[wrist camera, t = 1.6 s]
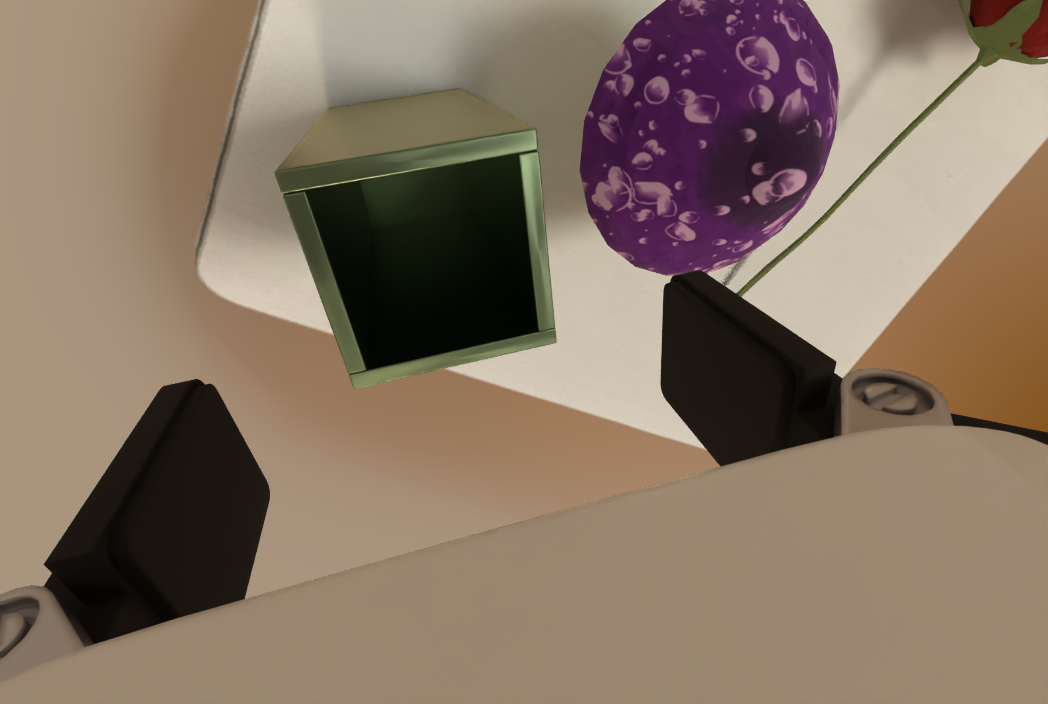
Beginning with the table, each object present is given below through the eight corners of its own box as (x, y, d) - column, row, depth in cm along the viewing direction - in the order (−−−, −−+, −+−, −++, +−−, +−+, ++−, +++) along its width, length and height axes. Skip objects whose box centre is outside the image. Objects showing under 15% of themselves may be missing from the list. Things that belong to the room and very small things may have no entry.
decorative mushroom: (603, -61, 25) (819, -166, 13) (764, 75, 31) (1027, 94, 18) (491, 171, 30) (571, 260, 17) (649, 254, 35) (797, 369, 23)
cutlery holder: (327, 108, 26) (273, 171, 13) (460, 87, 27) (536, 127, 14) (365, 237, 30) (354, 389, 17) (481, 215, 31) (557, 343, 18)
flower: (663, 369, 34) (1202, -161, 19) (618, 283, 41) (975, -139, 27) (764, 415, 39) (1251, 23, 24) (706, 331, 46) (1048, -4, 32)
